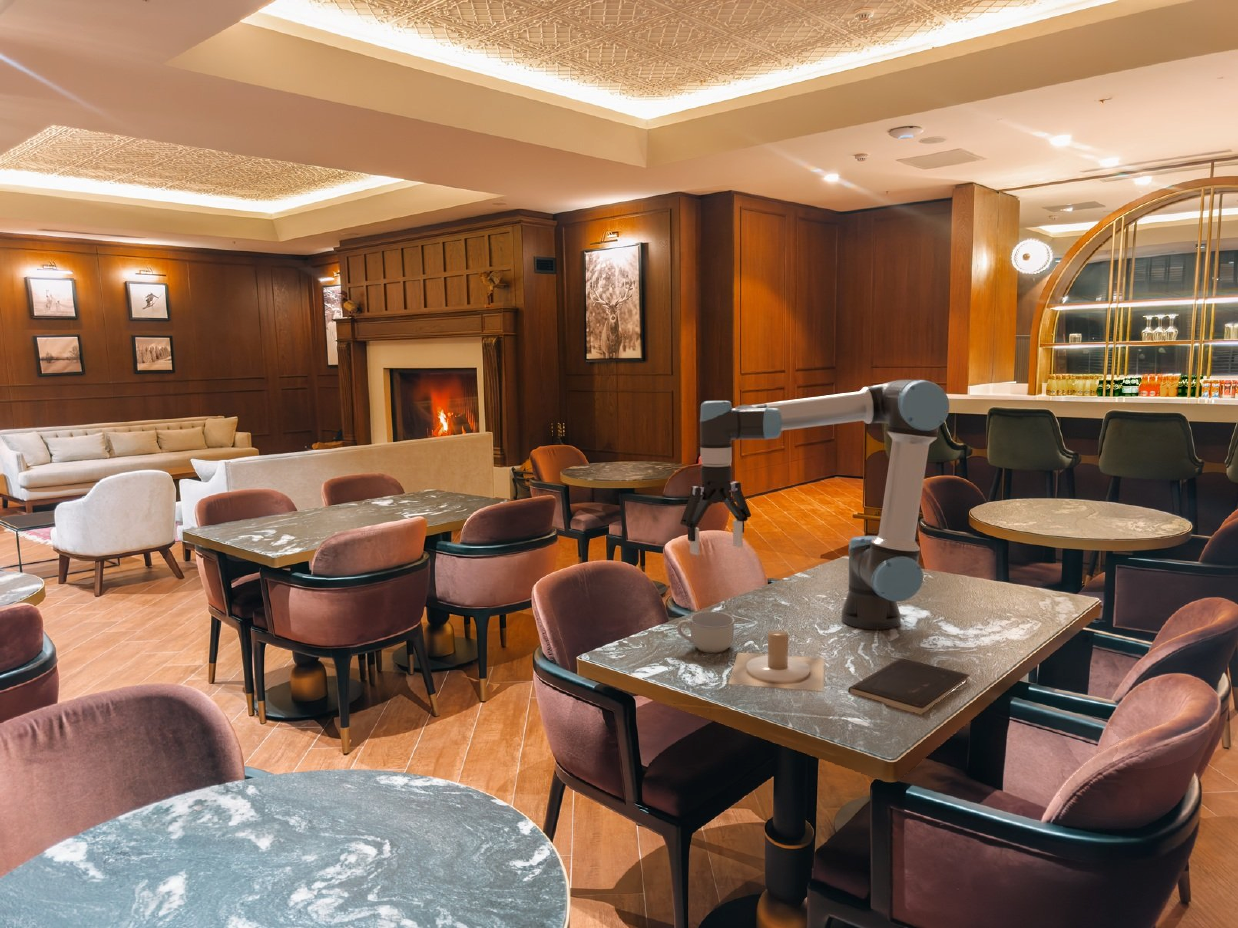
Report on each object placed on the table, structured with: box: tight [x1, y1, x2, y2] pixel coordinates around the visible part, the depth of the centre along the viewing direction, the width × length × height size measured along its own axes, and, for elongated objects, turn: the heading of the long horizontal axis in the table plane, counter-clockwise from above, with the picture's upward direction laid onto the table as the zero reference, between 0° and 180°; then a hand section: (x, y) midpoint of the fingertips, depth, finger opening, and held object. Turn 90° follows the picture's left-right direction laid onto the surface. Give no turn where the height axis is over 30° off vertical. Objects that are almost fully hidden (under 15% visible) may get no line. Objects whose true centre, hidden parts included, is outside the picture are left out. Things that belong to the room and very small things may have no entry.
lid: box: [746, 630, 810, 683], centre depth 184 cm, size 14×14×8 cm
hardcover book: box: [847, 657, 970, 715], centre depth 175 cm, size 16×23×2 cm
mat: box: [727, 652, 825, 692], centre depth 185 cm, size 20×20×1 cm
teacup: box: [676, 610, 736, 654], centre depth 200 cm, size 14×11×8 cm
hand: (716, 550), depth 202 cm, fingers open, 13 cm apart
